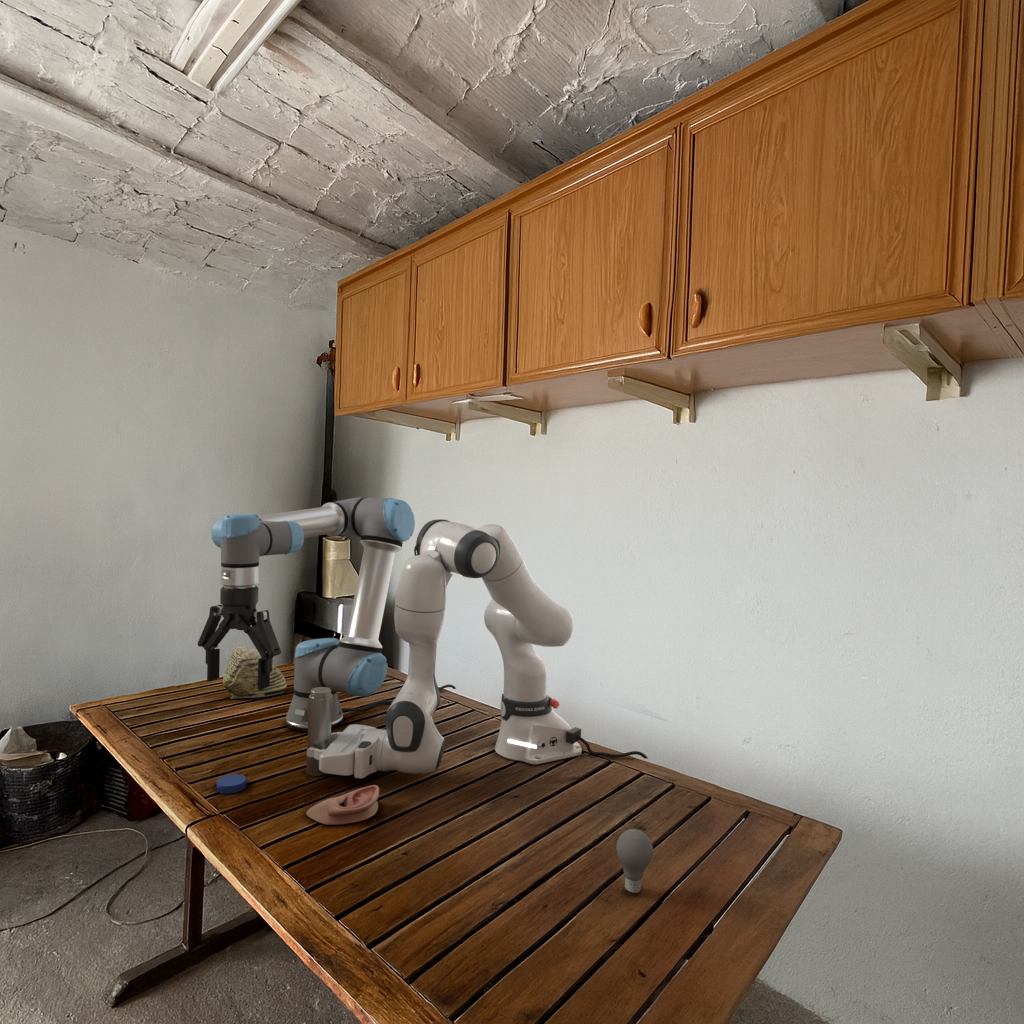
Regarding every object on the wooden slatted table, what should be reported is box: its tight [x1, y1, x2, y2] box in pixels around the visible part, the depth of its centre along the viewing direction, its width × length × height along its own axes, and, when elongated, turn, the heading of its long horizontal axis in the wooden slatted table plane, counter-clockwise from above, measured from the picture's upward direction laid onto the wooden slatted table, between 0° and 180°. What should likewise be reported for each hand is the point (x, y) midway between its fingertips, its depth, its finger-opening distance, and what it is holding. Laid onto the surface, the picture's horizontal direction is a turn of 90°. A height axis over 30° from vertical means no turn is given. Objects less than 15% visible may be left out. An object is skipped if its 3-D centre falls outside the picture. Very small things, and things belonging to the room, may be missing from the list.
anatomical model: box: [305, 784, 380, 826], centre depth 128 cm, size 13×4×12 cm
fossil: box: [222, 646, 288, 699], centre depth 198 cm, size 9×18×15 cm, turn 132°
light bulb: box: [615, 828, 654, 894], centre depth 106 cm, size 6×6×10 cm
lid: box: [215, 773, 248, 795], centre depth 136 cm, size 6×6×2 cm
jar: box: [305, 687, 332, 777], centre depth 146 cm, size 5×5×19 cm
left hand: (238, 683), depth 136 cm, fingers open, 13 cm apart
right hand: (315, 744), depth 146 cm, fingers open, 7 cm apart
